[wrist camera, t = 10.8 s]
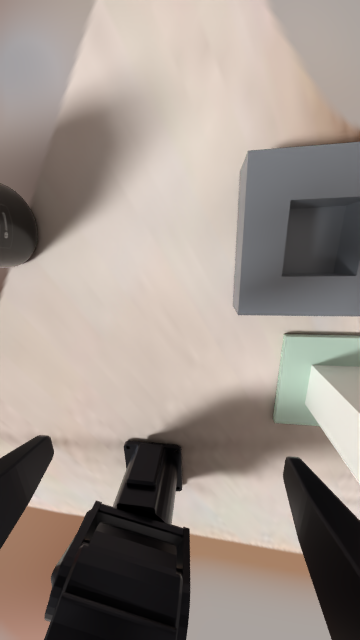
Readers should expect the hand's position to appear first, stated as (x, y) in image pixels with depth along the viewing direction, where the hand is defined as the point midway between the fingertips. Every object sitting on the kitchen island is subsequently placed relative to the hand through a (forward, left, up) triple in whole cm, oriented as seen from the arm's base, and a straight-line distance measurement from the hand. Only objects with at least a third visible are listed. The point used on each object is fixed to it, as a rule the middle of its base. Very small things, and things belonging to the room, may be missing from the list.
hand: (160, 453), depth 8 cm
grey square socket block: (+8, -9, -12) cm, 17 cm away
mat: (-4, -13, -12) cm, 18 cm away
